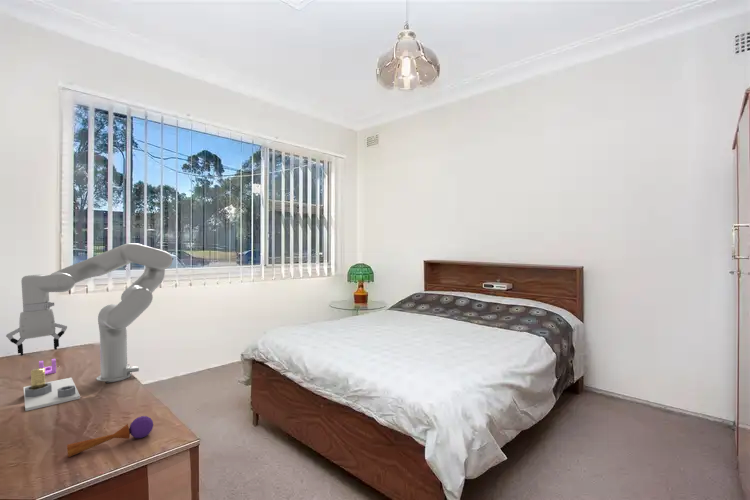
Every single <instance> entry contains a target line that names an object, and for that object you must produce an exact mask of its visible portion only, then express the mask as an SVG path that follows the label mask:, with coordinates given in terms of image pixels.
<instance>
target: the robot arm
mask: <svg viewBox="0 0 750 500" xmlns="http://www.w3.org/2000/svg"><path fill="white" fill-rule="evenodd" d="M129 264H137V265H140V266H144V267H145V269H144V271H143V273H142V274H141V275H140V276H139V278H138V279H136V280H135V281H134V282H133V283H132V284H131V285H129V286H128V287H127V288H126V289H125V290H124V291H122V294H121V297H120V299H121V301H120V302H119V303H118V304H113V303H111V304H108V305H107V304H106V305H105V306H103V308H101V309H100V310H99V313H98V315H97V322H98V323H97V324H98V331H99V358H100V359H99V360H100V361H99V362H100V363H99V364H100V375H98V376H97V377H96V381H98V382H104V383H106V384H107V383H116V382H120V381H123V380H126V379H128V378H130V377H131V376H132V375H133V373H137V372H139V371H140V367H139V366H138V365H137V366H135V365H134V366H131V365H130V363H128V335H127V334H128V333H127V332H128V331H127V327H129V326H130V325H131V324H132V323H133V322H134V321H135V320H137V319H138V318H139V317H140V316H141V315H142V314H143V313H144V312H145V311H146V310H147V309H148V308H149V307H150V305H151V304H152V302H153V298H154V297H153V293H154V292H155V290H157V288H159V286H160V285H161V284H162V283H163V280H164V278H165V272H166V271H165V270H166V269H168V268H170V267H171V266H172V264H173V257H172V254H171V253H169V252H168V251H165V250H162V249H160V248H159V249H158V248H155V247H151V246H148V245H144V244H141V243H136V242H132V243H131V242H129V243H125V244H124V243H123V244H121V245H119V246H115V247H113V248H111V249H109V250H106V251H103V252H102V253H99V254H97V255H94V256H91V257H89V258H87V259H85V260H82V261H80V262H77V263H74V264H72V265H70V266H67V267H64V268H61V269H59V270H56V271H54V272H52V273H51V274H30V275H24V276H23V277H22V278H21V281H20V282H21V295H22V298H21V299H22V311H21V312H20V315H19V321H18V325H19V326H18V328H15V329H14V330H11V331H10V332H8V333H7V334H6V335H5V337H6V338H7V339H8V340H9V342H10V343H13V344H14V345H16V346H17V354H20V356H21V357H22V356H23V355H24V346H23V343H24V341H25V340H29V339H36V338H37V339H38V338H43V337H50V336H51V337H53V349H54V350H55V351H57V350H58V347H60V340H59V339H60V338H61V337H62V336H63V335H64V334H65V332H66V331H67V329H68V326H67V325H65V324H60V323H58V322H57V323H56V322H55V314H54V311H53V309H52V308H51V307H55V302H51V301H50V293H65V292H68V291H70V290H72V289H73V288H74V287H75V284H77V283H80V282H81V281H84V280H86V279H91V278H96V277H102V276H103V275H104V276H105V275H107V274H109V273H111V272H114V271H115V270H118V269H120V268H122V267H124V266H126V265H129ZM56 328H59V329H60V331H59V332H58V333H56ZM17 334H19V337H20V338H18V339H16V338H14V337H13V336H14V335H17ZM130 373H131V374H132V375H131V374H130Z"/></svg>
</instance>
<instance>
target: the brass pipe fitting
mask: <svg viewBox="0 0 750 500" xmlns="http://www.w3.org/2000/svg"><path fill="white" fill-rule="evenodd" d="M45 383H46V374H45V368H39V367H38V368H34V369H31V370H30V384H31V385H30V386H31V389H39V388H43V387H45Z"/></svg>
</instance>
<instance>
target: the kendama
mask: <svg viewBox="0 0 750 500" xmlns="http://www.w3.org/2000/svg"><path fill="white" fill-rule="evenodd" d="M153 428H154V421H153V420H152V418H151V417H150V416H147V415H142V416H141V415H140V416H138V417H136V418H135V419H134V420H132V422H131V423H130V425H128V423H127V424H125V425H124V426H122V427H121V428H120V429H118V430H117V431H116V432H115V433H113V434H108V435H104V436H99V437H95V438H90V439H85V440H82V441H76V442H73V443H68V444H67V445H66V449H67V450H66V451H67V458H71V457H72V456H75V455H77V454H81V453H83V452H85V451H87V450H89V449H92V448H94V447H96V446H99V445H101V444H104V443H105V442H108V441H110V440H113V439H126V440H127V439H128V440H130V435H131V436H132V438H133V437H134V438H135V439H142V438H144V437H147V436H149V434H150V433H151V432H152V430H153Z"/></svg>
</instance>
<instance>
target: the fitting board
mask: <svg viewBox="0 0 750 500" xmlns="http://www.w3.org/2000/svg"><path fill="white" fill-rule="evenodd" d="M23 398H24V409H25V410H24V412H28V411H33V410H37V409H41V408H44V407H45V408H46V407H51V406H54V405H57V404H58V405H59V404H62V403H66V402H71V401H75V400H79V399H81V395H80V393H79V390H78V388H77V387H76V384H75V382H74V380H73V377H67V378H62V379H57V380H52V381H45V387H43V388H39V389H31V385H27V386H23Z"/></svg>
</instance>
